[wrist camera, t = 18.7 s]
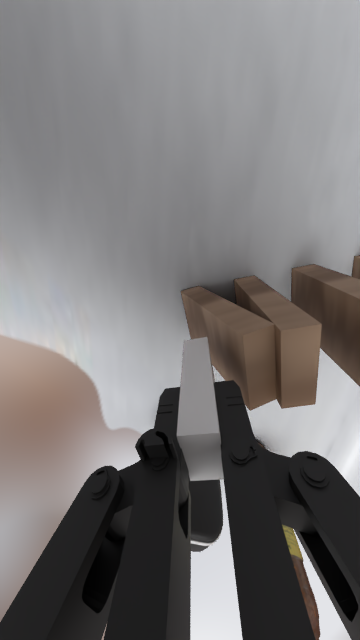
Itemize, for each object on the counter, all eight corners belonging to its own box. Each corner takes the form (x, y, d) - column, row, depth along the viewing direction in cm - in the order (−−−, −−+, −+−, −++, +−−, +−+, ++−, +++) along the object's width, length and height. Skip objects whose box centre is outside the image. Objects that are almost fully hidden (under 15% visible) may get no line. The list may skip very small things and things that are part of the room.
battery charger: (154, 423, 27) (131, 544, 17) (163, 403, 26) (143, 525, 15) (203, 437, 28) (209, 563, 18) (215, 419, 26) (229, 546, 16)
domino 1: (180, 291, 19) (242, 335, 10) (198, 285, 19) (274, 324, 10) (190, 338, 21) (250, 410, 12) (207, 332, 21) (276, 398, 12)
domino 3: (291, 268, 18) (391, 313, 9) (313, 264, 18) (439, 306, 9) (290, 319, 20) (372, 398, 11) (310, 316, 20) (410, 394, 11)
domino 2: (233, 279, 19) (280, 330, 10) (254, 275, 18) (321, 323, 9) (238, 327, 21) (281, 408, 12) (257, 324, 20) (315, 404, 11)
